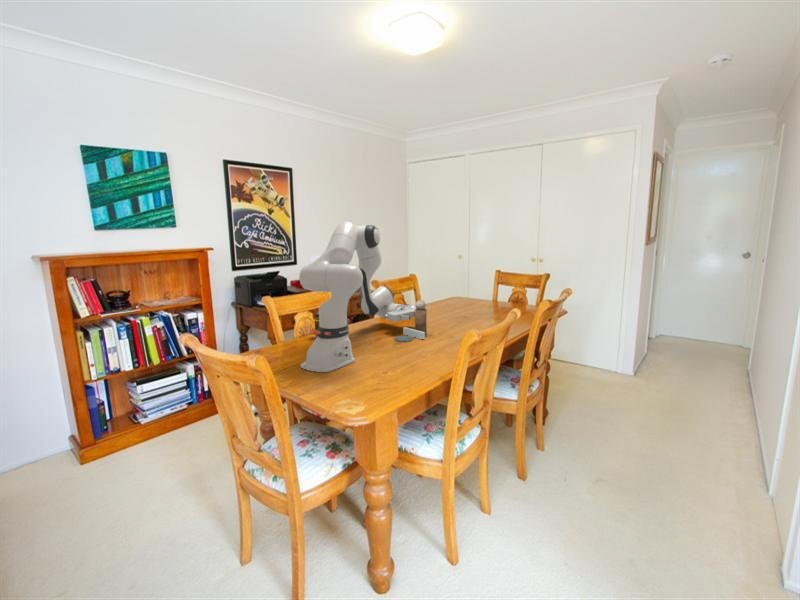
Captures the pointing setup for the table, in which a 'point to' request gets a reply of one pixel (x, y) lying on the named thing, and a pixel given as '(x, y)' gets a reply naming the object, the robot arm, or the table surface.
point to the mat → (403, 338)
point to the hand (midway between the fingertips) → (416, 316)
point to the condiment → (316, 322)
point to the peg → (420, 317)
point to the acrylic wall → (413, 333)
